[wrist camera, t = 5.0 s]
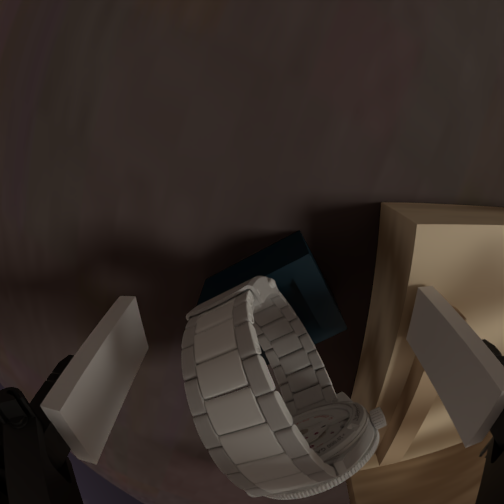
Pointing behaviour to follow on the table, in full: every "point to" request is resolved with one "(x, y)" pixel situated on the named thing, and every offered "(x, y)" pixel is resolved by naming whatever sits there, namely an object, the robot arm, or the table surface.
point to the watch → (258, 377)
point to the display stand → (406, 362)
